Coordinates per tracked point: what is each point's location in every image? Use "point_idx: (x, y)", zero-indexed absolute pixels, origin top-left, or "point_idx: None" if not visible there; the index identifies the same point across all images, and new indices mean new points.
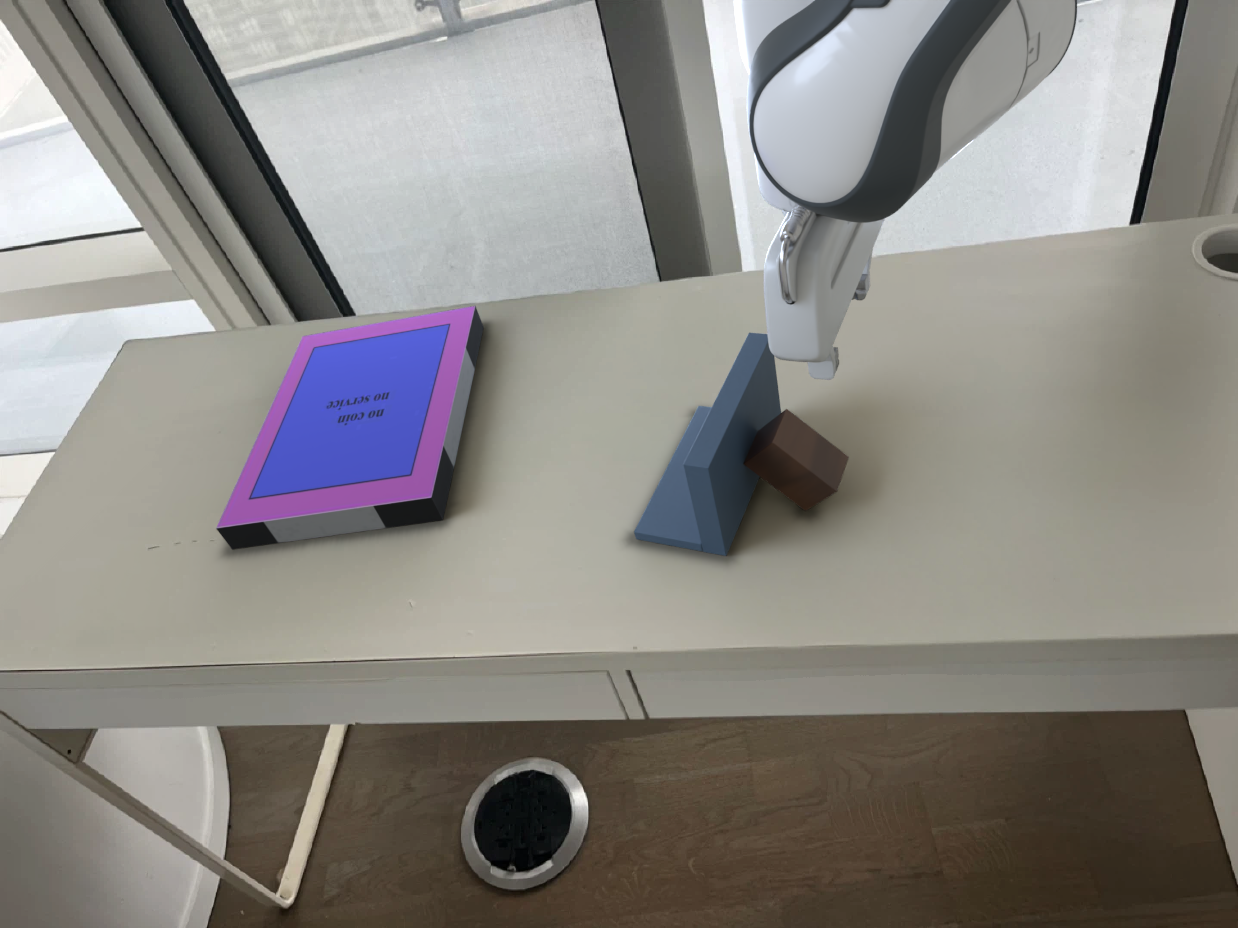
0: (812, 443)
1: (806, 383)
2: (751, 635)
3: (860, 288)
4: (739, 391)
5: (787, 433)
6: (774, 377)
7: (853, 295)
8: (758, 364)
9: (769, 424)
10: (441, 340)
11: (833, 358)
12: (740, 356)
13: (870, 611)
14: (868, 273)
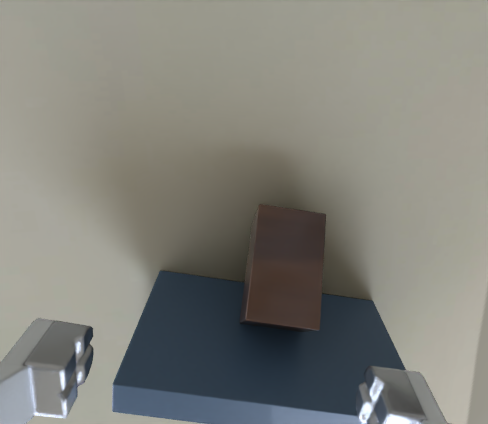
0: (277, 264)
1: (81, 250)
2: (481, 266)
3: (75, 358)
4: (264, 409)
5: (289, 309)
6: (148, 326)
7: (84, 352)
8: (191, 391)
9: (251, 323)
10: None
11: (442, 422)
12: (175, 415)
13: (467, 152)
14: (19, 362)
